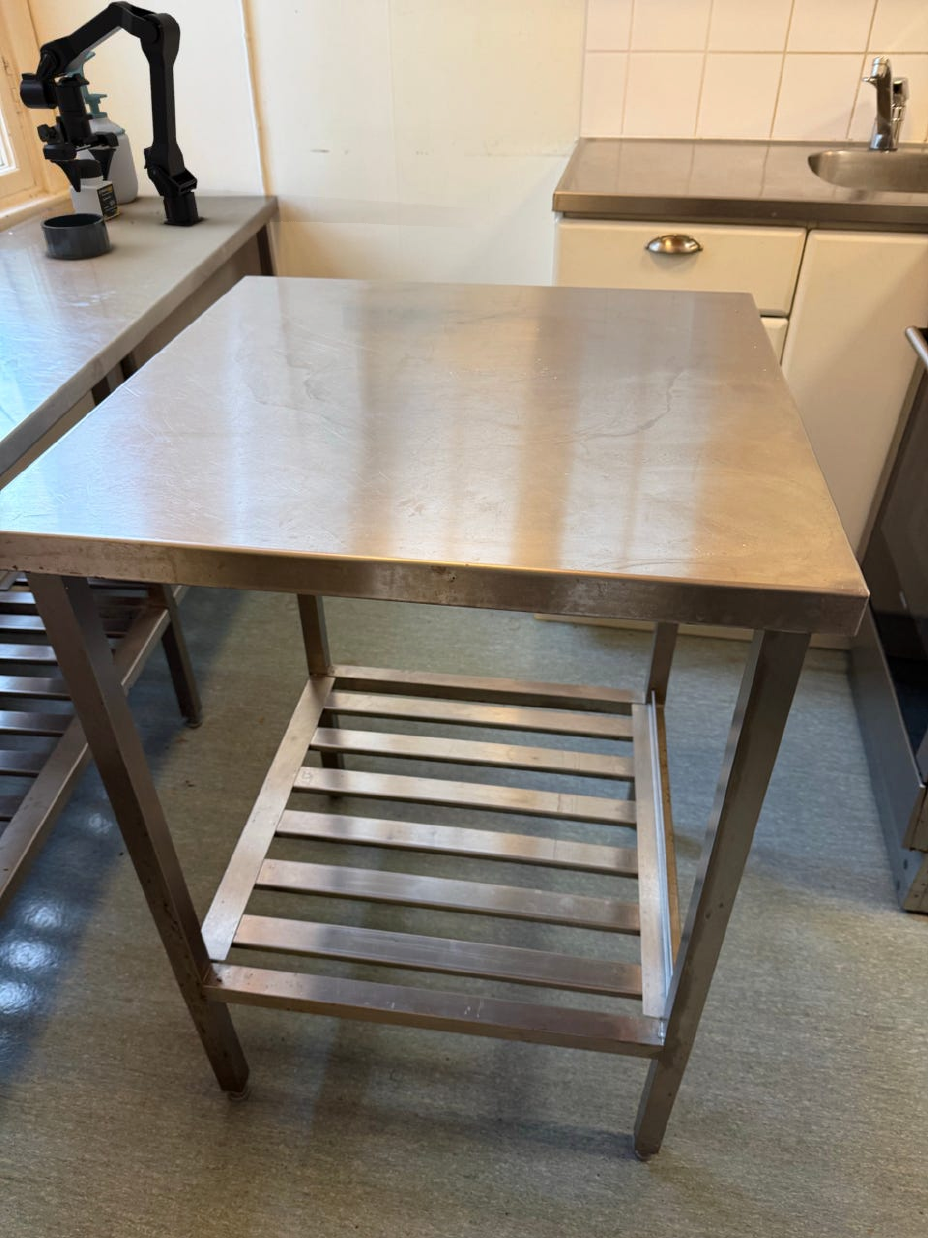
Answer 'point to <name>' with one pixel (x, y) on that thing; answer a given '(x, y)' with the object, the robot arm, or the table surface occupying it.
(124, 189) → the soap bottle
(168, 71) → the robot arm
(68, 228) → the dark grey round bowl
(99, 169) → the medicine bottle
